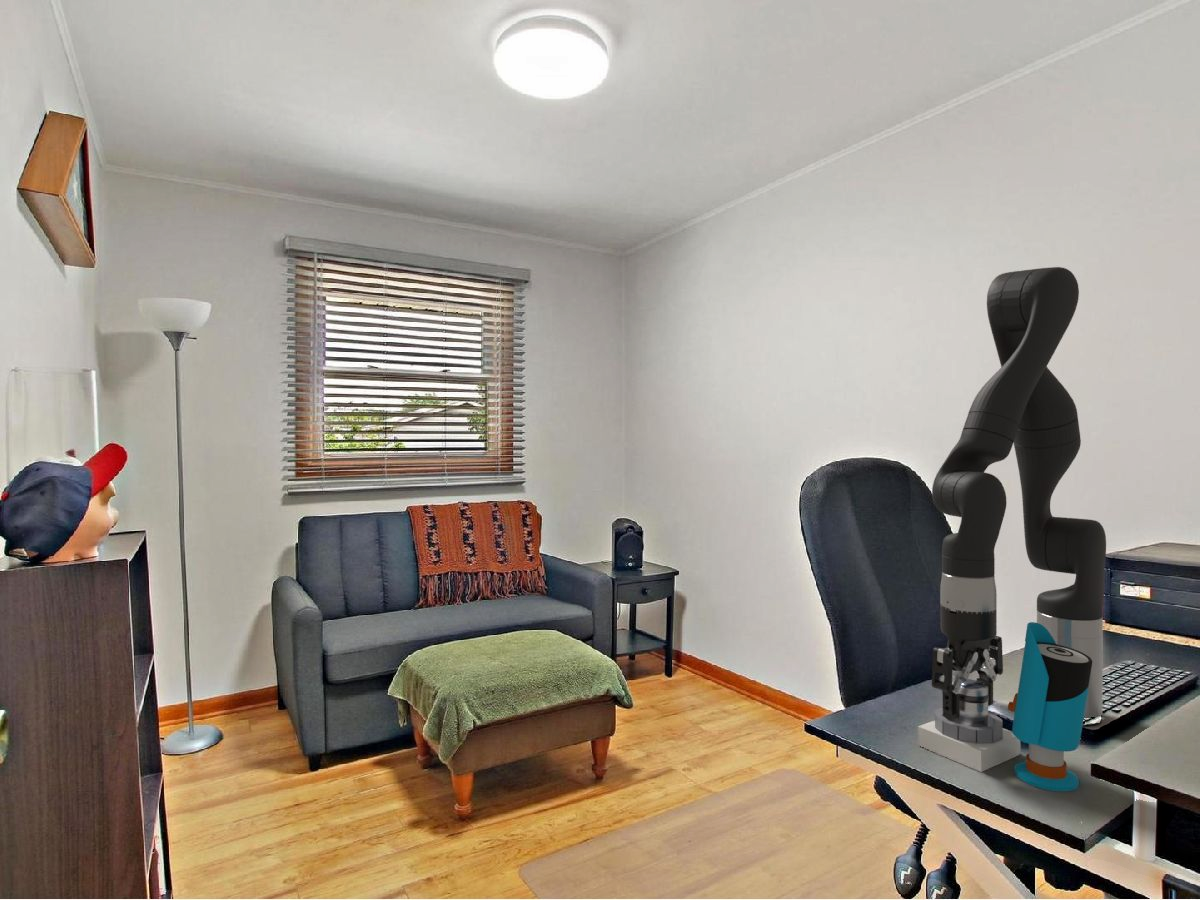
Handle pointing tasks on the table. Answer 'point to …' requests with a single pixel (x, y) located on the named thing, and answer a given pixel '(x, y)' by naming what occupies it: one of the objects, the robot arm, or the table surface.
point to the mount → (969, 741)
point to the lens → (973, 704)
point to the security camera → (1049, 708)
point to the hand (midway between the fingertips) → (968, 710)
